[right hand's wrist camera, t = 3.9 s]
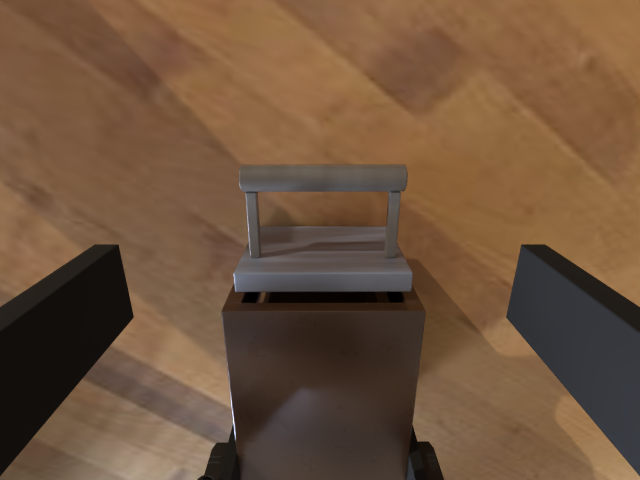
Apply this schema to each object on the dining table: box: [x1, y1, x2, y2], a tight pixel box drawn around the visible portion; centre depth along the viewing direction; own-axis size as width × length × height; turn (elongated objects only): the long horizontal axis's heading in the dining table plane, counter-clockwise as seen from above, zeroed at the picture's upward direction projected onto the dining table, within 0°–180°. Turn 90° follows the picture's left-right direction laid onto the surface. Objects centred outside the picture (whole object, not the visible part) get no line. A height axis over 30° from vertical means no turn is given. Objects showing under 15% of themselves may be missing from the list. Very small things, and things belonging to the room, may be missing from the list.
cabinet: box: [221, 283, 426, 480], centre depth 27 cm, size 17×11×10 cm, turn 0°
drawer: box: [234, 165, 413, 303], centre depth 26 cm, size 21×10×8 cm, turn 0°
